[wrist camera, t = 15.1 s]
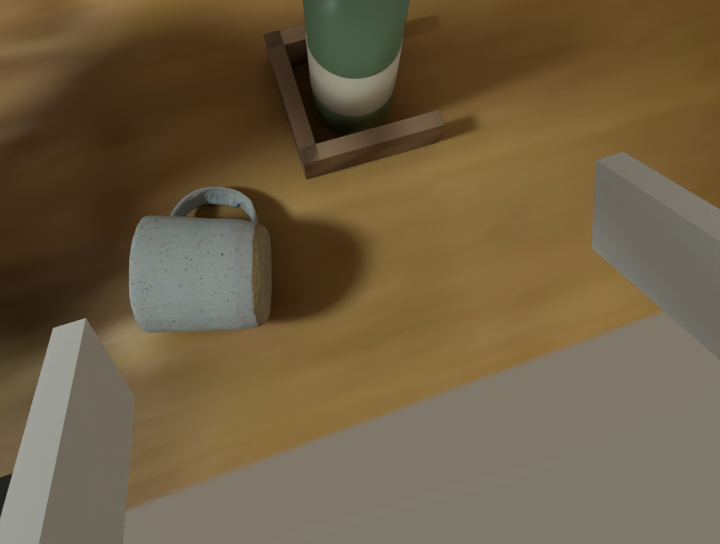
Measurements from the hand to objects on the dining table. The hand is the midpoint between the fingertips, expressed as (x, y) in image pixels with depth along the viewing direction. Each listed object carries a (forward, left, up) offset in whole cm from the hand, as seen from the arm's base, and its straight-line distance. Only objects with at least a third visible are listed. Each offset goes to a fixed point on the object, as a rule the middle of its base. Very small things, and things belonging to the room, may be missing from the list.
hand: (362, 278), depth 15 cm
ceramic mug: (-11, +4, -27) cm, 30 cm away
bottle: (-4, +18, -27) cm, 33 cm away
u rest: (-4, +19, -27) cm, 33 cm away
